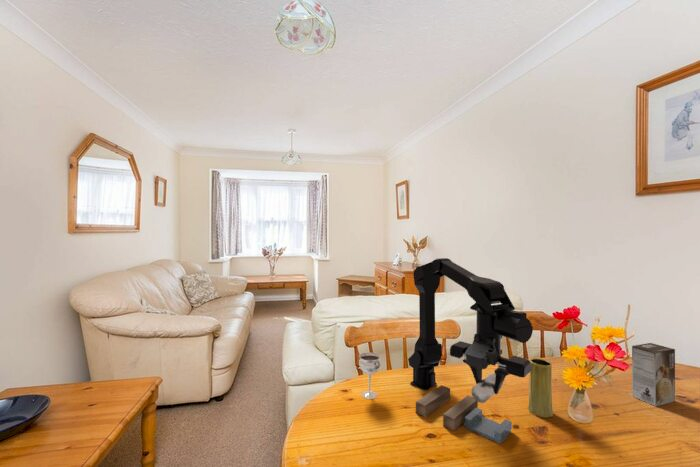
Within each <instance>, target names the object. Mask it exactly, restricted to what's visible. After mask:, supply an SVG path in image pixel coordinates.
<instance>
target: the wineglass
mask: <svg viewBox="0 0 700 467" xmlns="http://www.w3.org/2000/svg"><path fill="white" fill-rule="evenodd" d="M358 357H359V360H358V365H359V369H360V370H361V371H362V372H363V373H364V374H367V376H368V378H367V379H368V390H365V391H362V392H361V396H362V398H364V399H367V400H373V399H376V398H377V397H378V393H377V392H375V391H373V390H371V380H372V377H371V376H372V375H373V374H376V373H377V372H378V371H379V369H380V367H381V360H380V359H381V355H380V354H378V353H375V352H362V353H360V354H359V355H358Z"/></svg>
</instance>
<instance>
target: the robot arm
mask: <svg viewBox="0 0 700 467" xmlns="http://www.w3.org/2000/svg"><path fill="white" fill-rule="evenodd" d="M444 276H445V277H447V278H448V279H449V280H451V281H452V282H454V283H456V284H457V285H459V286H461V287H462V288H463V289H465V291H466V292H467V294H468V296H469V297H470V298H471V299H472V300H473V301H474V304H472V305H471V306H470V307H469V308H470V310H473V311H475V312H476V330H475V331H476V333H475V334H474V336H473V340H472V343H468V342H465V341H461V340H459V341H457V342H455V343H453V344H451V345H450V348H449V355H450V357H453V358H457V359H461V358H463V360H462V362H463V363H464V364H466V365H467V366H469V368H470V370H471V372H472V375H473V378H474V380H475V385H476V384H478V383H479V382H480V381H482V380H483V370H486V369H487V368H488V366H490V365H491V366H493V367H494V366H496V364H497V368H495V370H493V371H494V372H493V373H495V374H496V378H495V394H494V395H498V394H499V391H500V390H501V389H502V387H501V385H502V383H503V384H504V381H505V379H506V377H507V376H509V375H512V376H516V377H518V378H526V376H528V374H530V371H531V363H530V360H529V359H528V358H525V357H520V356H517V355H512V356H511V357H510V358H507V357H503V356H501V355H502V354H503V349H501V344H502V343H501V341H502V340H501V339H502V338H503V337H504V338H507V339H510V340H513V341H514V342H517V343H518V342H519V343H521V344H525V343H528V342H529V341H530V339H531V338H532V336H533V329H534V327H533V324H532V322H531V321H530V319H529V318H527V313H526V312H525V311H524V312H523V311H517V310H515V309H516V308H515V305H514V304H513V302H512V301H511V299H510V296H508V293H507V292H506V290H505V286H504V285H503V283H502V282H500V281H497V280H495V279H491V278H489V277H482V276H478V275H476V274H474V273H473V272H471V271H470V270H467V269H466V268H464V267H462V266H461V265H459V264H457V263H455V262H453V261H452V260H451V259H450V258H447V257H446V258H443V257H440V258H435V259H434V260H432V261H430V262H428V263H425V264H423V265H419V266H417V267H416V268H415V269H414V270H413V283H414V287H415V288H416V289H417V291H418V293H419V298H418V299H419V302H418V303H419V305H418V306H419V312H418V313H419V337H418V338H417V340H416V342H415V343H414V351H413V353H412V354H411V356H410V357H408V359H407V360H408V365H409V367H410V368H412V381H410V383H409V384H410V385H412V386H414V387H416V388H419V389H421V390H424V391H425V392H426V391H428V390H430V389H432V388H434V387H435V386H437V385H438V384H437V382H436V372H435V367H437V368H438V367H439V364H440V361H441V360H442V357H443V351H442V349H443V344H442V343H439V341H438V340H437V338H436V292H437V290H438V289H439V286H440V283H441V278H442V277H444Z"/></svg>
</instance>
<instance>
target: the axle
mask: <svg viewBox="0 0 700 467" xmlns="http://www.w3.org/2000/svg"><path fill="white" fill-rule="evenodd" d="M495 378H496V374H495V372H493V373H489V374H488V375H487V376H485V377H484V378H482V381H480V382H479V383H478V384H476V383H475V385H474V386H472V387H471V392H470V393H471V397H473V398H474V399H475V400H476V401H478V403H481V404H484V403H487V401H488V400H490V398H492V397H493V396H494V395H496V394H495ZM503 386H504V382H503V383H502V385H501V388H502V387H503Z"/></svg>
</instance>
